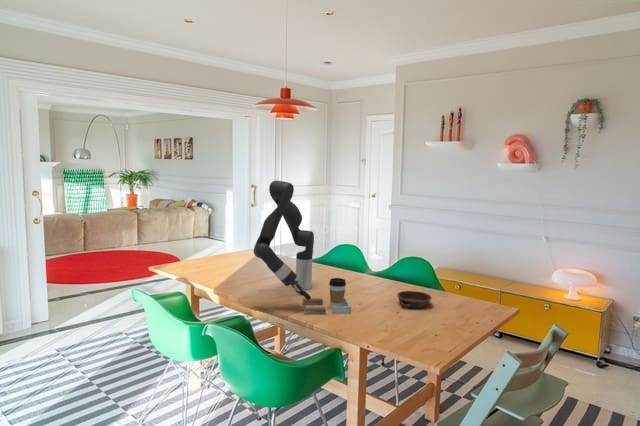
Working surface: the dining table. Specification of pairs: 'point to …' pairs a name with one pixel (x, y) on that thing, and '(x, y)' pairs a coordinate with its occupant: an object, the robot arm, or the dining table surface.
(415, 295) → the dish
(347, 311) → the corral
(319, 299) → the clamp blocks
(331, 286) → the coffee cup
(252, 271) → the dining table surface
